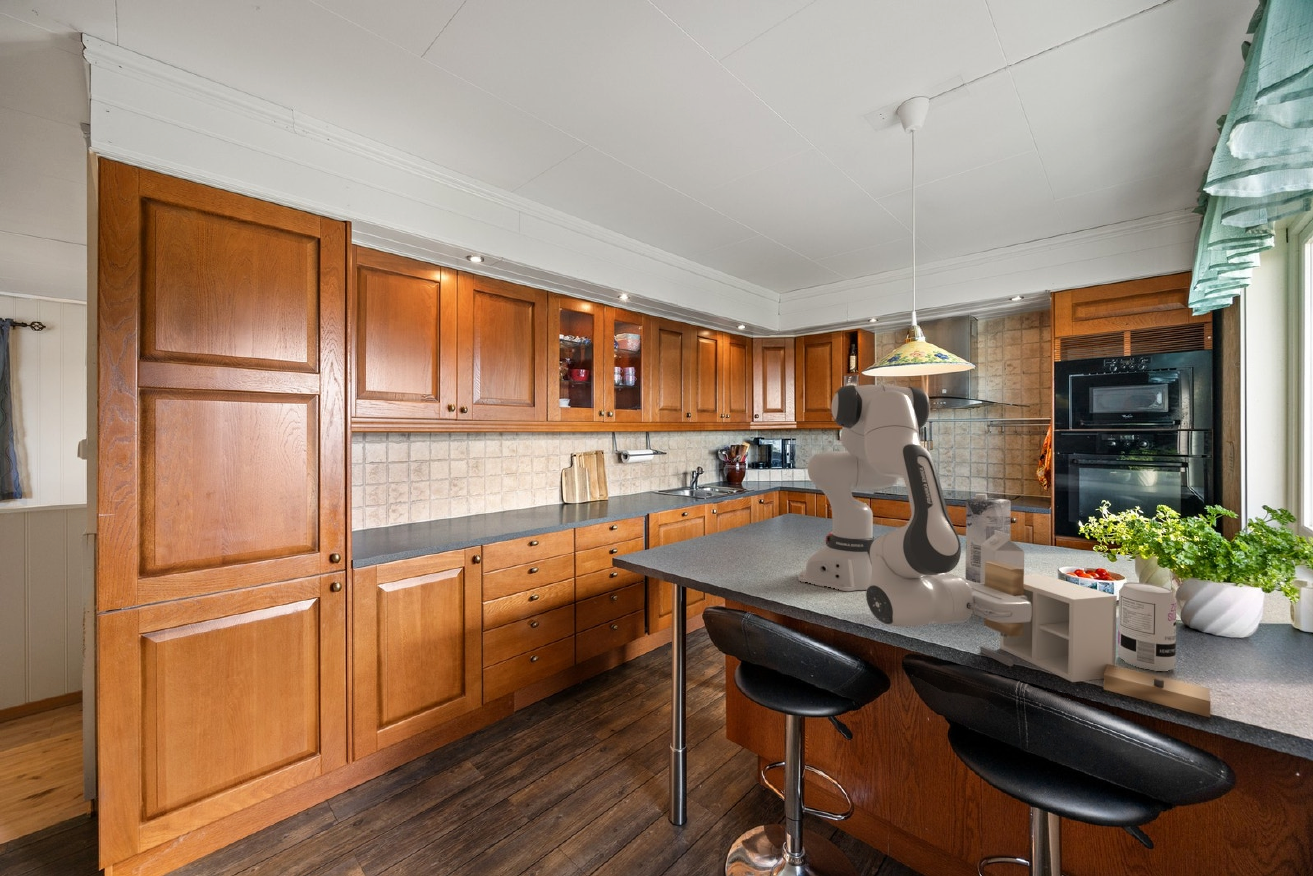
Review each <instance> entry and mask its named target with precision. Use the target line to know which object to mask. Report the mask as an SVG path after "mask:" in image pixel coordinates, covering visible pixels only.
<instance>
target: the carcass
mask: <svg viewBox="0 0 1313 876" xmlns="http://www.w3.org/2000/svg"><path fill="white" fill-rule="evenodd" d="M1023 595H1024V596H1027V598H1028V600H1027V601H1029V602H1030V603H1031V605H1032V617H1031V620H1030V621H1029V622H1025V623H1023V635H1019V636H1008V635H1006V634H1003V633H1001V632H999V649H1000V650H1002V651H1005V652H1007V653H1009V654H1011V655H1014V656H1015V657H1018V658H1020V659H1021V660H1024V661H1026V662H1028V663H1031V664H1033V665H1035V666H1037V667H1038V668H1041V669H1044V670H1045V671H1047V672H1050V673H1051V674H1054V675H1056V676H1059V677H1060V678H1063V679H1065V680H1067V681H1069V682H1071V683H1077V682H1084V681H1085V682H1086V681H1091V680H1092V679H1093V680H1098V679H1099V678H1100V679H1104V673H1105V669H1106V666H1107V664H1110V665H1114V666H1116V660H1117V659H1116V658H1117V657H1116V656H1117V655H1116V652H1117V651H1116V649H1117V645H1116V644H1117V600H1118V595H1116V594H1112V593H1110V592H1109V593H1108V592H1105V591H1102V590H1097V589H1094V588H1091V587H1087V586H1084V585H1080V584H1076V583H1073V582H1071V581H1066V580H1063V579H1060V578H1055V577H1052V576H1050V575H1049V576H1048V575H1045V574H1042V573H1032V574H1024V589H1023ZM979 652H980V653H981V654H984V655H985V656H988V657H990V658H991V659H994V660H995V661H998V662H1000V663H1001V664H1004V665H1005V666H1008V667H1014V659H1012V658H1010V657H1008V656H1006V655H1003V654H1001V653H999V652H997V651H995V650H993V649H991V648H989V647H987V646H984V645H980V651H979ZM1093 680H1092V681H1093Z"/></svg>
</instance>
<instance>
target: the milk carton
mask: <svg viewBox="0 0 1313 876" xmlns="http://www.w3.org/2000/svg"><path fill="white" fill-rule="evenodd" d="M991 561H999V562H1002V563H1006V564H1009V565H1013V566H1016V567H1020V568H1023V569H1024V570H1025V551H1024V550H1023V549H1022V548H1021V547H1020V546H1019V545H1017V544H1016V543H1015V542H1014V541H1013V540H1011V534H1010V535H1008V534H1005V533H1002V532H1000V531H997V530H995V534H994V535H993V536H991V537H990V538H989V539H988V540H986V541H985V542H984V543H982V544H981V570H980V583H985V562H991Z"/></svg>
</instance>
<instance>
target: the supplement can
mask: <svg viewBox="0 0 1313 876" xmlns="http://www.w3.org/2000/svg"><path fill="white" fill-rule="evenodd" d="M1177 602H1178V601H1177V598H1176V596H1175V595H1174V593H1173V590H1172V589H1170V588H1168V587H1165V586H1161V585H1157V584H1152V583H1143V582H1135V581H1134V582H1132V581H1131V582H1130V581H1129V582H1124V583H1123V585H1122V587H1121V588H1120V589H1119V590H1118V623H1117V625H1118V627H1117V629H1118V632H1117V635H1118V636H1117V655H1118V657H1119V658H1120V659H1121V660H1122V659H1123V660H1124V661H1125V662H1124V661H1123V660H1122V661H1123V662H1124V663H1126V664H1128V665H1130V664H1131V665H1130V666H1132V665H1133V666H1132V667H1135V666H1136V667H1135V668H1138V667H1139V668H1138V669H1141V668H1145V669H1150V670H1157V671H1166V670H1170V671H1171V670H1174V669H1175V668H1176V654H1177V653H1176V651H1177V649H1176V645H1177V606H1178V605H1177V604H1178V603H1177ZM1145 669H1144V670H1145ZM1150 670H1149V671H1150Z"/></svg>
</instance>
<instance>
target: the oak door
mask: <svg viewBox="0 0 1313 876" xmlns="http://www.w3.org/2000/svg"><path fill="white" fill-rule="evenodd" d="M1024 575H1025V568H1024V569H1023V568H1020V567H1016V566H1013V565H1009V564H1006V563H1002V562H999V561H991V562H985V586H987V587H989V588H992V589H995V590H998V591H1001V592H1004V593H1007V594H1009V595H1012V596H1013V595H1014V594H1021V595H1023V589H1024ZM983 621H984V622H983V625H984V626H985V627H988V629H989V628H990V629H992V630H994V631H997V632H999V633H1000V632H1001V633H1003V634H1006V635H1008V636H1019V635H1023V623H1000V622H994V621H991V620H988V619H986V618H984V617H983Z"/></svg>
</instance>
